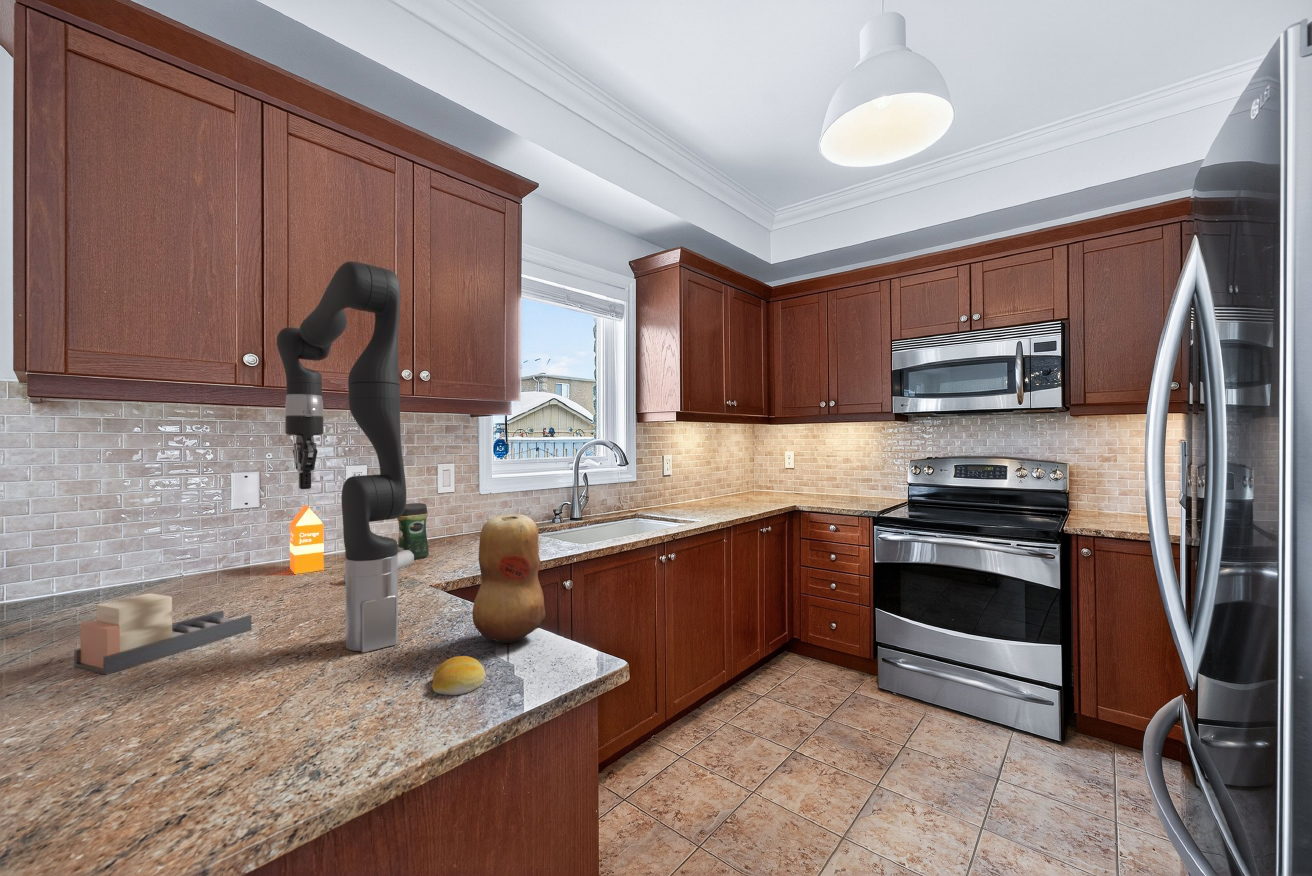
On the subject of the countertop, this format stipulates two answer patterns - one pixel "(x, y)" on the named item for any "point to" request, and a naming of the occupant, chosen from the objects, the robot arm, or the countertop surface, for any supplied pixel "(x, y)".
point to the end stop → (98, 642)
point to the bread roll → (458, 676)
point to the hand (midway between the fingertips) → (305, 488)
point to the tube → (402, 559)
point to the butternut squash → (509, 579)
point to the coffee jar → (413, 530)
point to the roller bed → (172, 642)
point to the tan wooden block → (139, 619)
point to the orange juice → (306, 542)
